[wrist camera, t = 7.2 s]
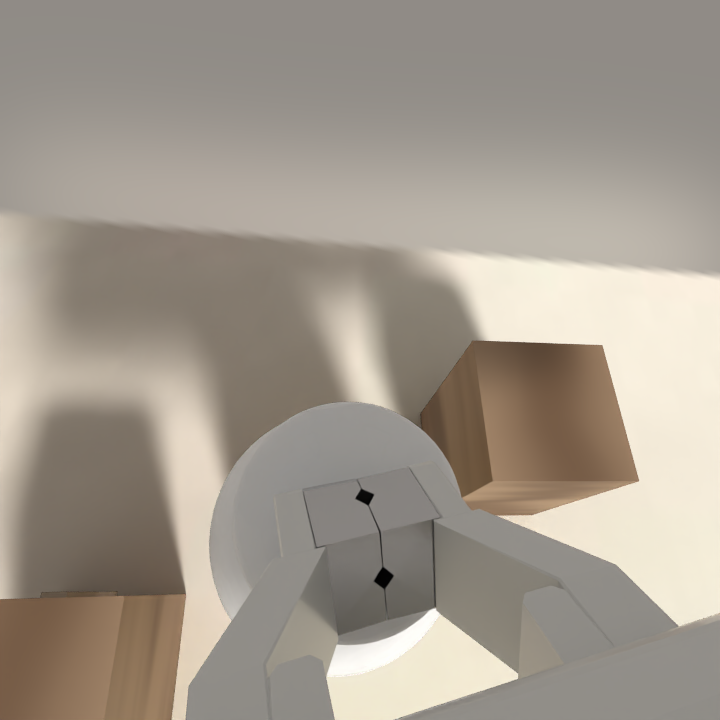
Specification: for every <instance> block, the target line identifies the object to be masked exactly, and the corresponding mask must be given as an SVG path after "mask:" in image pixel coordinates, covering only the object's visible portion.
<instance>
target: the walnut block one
mask: <svg viewBox="0 0 720 720" xmlns="http://www.w3.org/2000/svg"><path fill="white" fill-rule="evenodd" d="M185 599H186V594H171V595H136V596H117V592H42V593H41V597H40V598H30V599H0V720H171V718H172V710H173V701H174V693H175V684H176V676H177V667H178V659H179V650H180V641H181V633H182V624H183V616H184V607H185Z"/></svg>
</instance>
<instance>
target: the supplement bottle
mask: <svg viewBox="0 0 720 720" xmlns="http://www.w3.org/2000/svg"><path fill="white" fill-rule="evenodd" d="M430 460H431V461H433V462H435V463H436V464H437V466H438V467H439V468H440V470H441V471H442V472H443V474H444V475H445V476H446V477H447V479H448V480H449V481H450V483H451V484H452V485H453V487H454V488H455V489H456V491H457V492H458V493H459V495H460V496H461V493H460V490H459V487H458V484H457V481H456V478H455V475H454V472H453V470H452V468H451V466H450V464H449V462H448V461H447V459H446V457H445V456H444V454H443V453H442V451H441V450H440V449H439V447H438V446H437V445H436V443H435V442H434V441H433V440H432V439H431V438H430V437H429V436H428V435H427V434H426V433H425V432H424V431H423V430H422V429H420V428H419V427H418V426H417V425H415V424H414V423H412V422H411V421H410V420H408V419H407V418H405V417H403V416H401V415H399V414H398V413H396V412H394V411H392V410H389V409H386V408H384V407H381V406H377V405H373V404H367V403H359V402H337V403H328V404H324V405H320V406H316V407H313V408H310V409H307V410H305V411H302V412H300V413H298V414H296V415H294V416H292V417H291V418H289V419H288V420H286V421H285V422H283V423H282V424H280V425H278V426H277V427H275V428H273V429H272V430H270V431H269V432H267V433H266V434H264V435H263V436H261V437H260V438H259V439H258V440H257V441H256V442H254V443H253V444H252V445H251V446H250V447H249V448H248V449H247V450H246V451H245V453H244V454H243V455H242V456H241V457H240V458H239V460H238V461H237V462H236V464H235V465H234V467H233V468H232V470H231V472H230V473H229V475H228V477H227V478H226V480H225V482H224V484H223V486H222V488H221V490H220V493H219V496H218V499H217V501H216V505H215V508H214V512H213V516H212V521H211V528H210V540H209V552H210V563H211V569H212V575H213V579H214V583H215V586H216V589H217V592H218V595H219V598H220V600H221V602H222V605H223V607H224V609H225V611H226V612H227V614H228V616H229V618H230V619H231V621H232V620H233V618H234V617H235V615H236V614H237V612H238V611H239V609H240V608H241V606H242V605H243V603H244V602H245V600H246V599H247V597H248V596H249V594H250V593H251V591H252V589H253V588H254V586H255V585H256V583H257V582H258V580H259V579H260V577H261V576H262V574H263V573H264V571H265V570H266V568H267V567H268V565H269V564H270V562H271V561H272V559H275V558H279V557H281V553H280V545H279V538H278V531H277V523H276V516H275V509H274V501H273V497H274V495H275V494H279V493H284V492H289V491H293V490H298V489H301V490H302V489H303V488H308V487H313V486H318V485H324V484H329V483H334V482H339V481H344V480H349V479H354V478H355V479H358V478H362V477H366V476H370V475H375V474H379V473H383V472H388V471H392V470H396V469H401V468H405V467H407V466H411V465H415V464H418V463H422V462H426V461H430ZM439 615H440V613H439V612H437V611H436V608H435V609H431V610H427V611H423V612H419V613H415V614H411V615H407V616H403V617H399V618H395V619H391V620H388V619H387V616H386V621H383V622H380V623H377V624H374V625H371V626H368V627H364V628H361V629H358V630H355V631H352V632H349V633H345V634H342V635H339V636H338V642H337V645H336V648H335V651H334V654H333V657H332V660H331V664H330V667H329V670H328V673H327V677H337V676H350V675H357V674H361V673H366V672H368V671H371V670H374V669H376V668H379V667H382V666H384V665H386V664H388V663H390V662H392V661H394V660H395V659H397V658H398V657H400V656H401V655H403V654H404V653H406V652H407V651H408V650H409V649H410V648H412V647H413V646H414V645H415V644H416V643H417V642H418V641H419V640H420V639H421V638H422V637H423V636H424V635H425V634H426V633H427V632H428V630H429V629H430V628H431V626H432V625H433V624H434V622H435V621H436V620H437V618H438V617H439Z"/></svg>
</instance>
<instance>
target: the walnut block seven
mask: <svg viewBox="0 0 720 720" xmlns="http://www.w3.org/2000/svg"><path fill="white" fill-rule="evenodd" d="M421 424H422V430H423V431H424V432H425V433H426V434H427V435H428V436H429V437H430V438H431V439H432V440H433V441H434V442H435V443H436V445H437V446H438V447H439V449H440V450H441V451H442V453H443V454H444V456H445V457H446V459H447V461H448V462H449V464H450V466H451V468H452V470H453V472H454V475H455V478H456V481H457V484H458V487H459V490H460V493H461V497H462V498H463V500H464V501H465V502H466V504H467V505H468V506H469V508H470V509H471V510H472V511H473V510H477V509H481V510H483V511H486V512H488V513H490V514H493V515H533V514H536V513H540V512H543V511H546V510H549V509H552V508H555V507H559V506H562V505H565V504H568V503H571V502H574V501H578V500H581V499H584V498H587V497H590V496H593V495H597V494H600V493H603V492H606V491H609V490H612V489H616V488H619V487H622V486H625V485H628V484H632V483H635V482H638V481H639V479H638V475H637V471H636V468H635V464H634V460H633V457H632V453H631V449H630V446H629V442H628V438H627V434H626V431H625V427H624V423H623V420H622V416H621V412H620V409H619V405H618V401H617V398H616V394H615V390H614V387H613V383H612V379H611V375H610V372H609V368H608V364H607V361H606V357H605V353H604V350H603V346H602V345H581V344H553V343H526V342H498V341H472V342H471V344H470V345H469V347H468V348H467V349H466V351H465V352H464V354H463V355H462V356H461V358H460V359H459V361H458V362H457V363H456V365H455V366H454V368H453V369H452V370H451V372H450V373H449V375H448V376H447V377H446V379H445V380H444V382H443V383H442V384H441V386H440V387H439V389H438V390H437V391H436V393H435V394H434V396H433V397H432V398H431V400H430V401H429V403H428V404H427V405H426V407H425V408H424V410H423V411H422V412H421Z"/></svg>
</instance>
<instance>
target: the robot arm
mask: <svg viewBox="0 0 720 720" xmlns="http://www.w3.org/2000/svg"><path fill="white" fill-rule="evenodd" d="M273 501H274V509H275V516H276V523H277V531H278V538H279V545H280V553H281V557H279V558H275V559H272V561H271V562H270V564H269V565H268V567H267V568H266V570H265V571H264V573H263V574H262V576H261V577H260V579H259V580H258V582H257V583H256V585H255V586H254V588H253V589H252V591H251V593H250V594H249V596H248V597H247V599H246V600H245V602H244V603H243V605H242V606H241V608H240V609H239V611H238V612H237V614H236V615H235V617H234V618H233V620H232V621H231V623H230V624H229V626H228V627H227V629H226V630H225V632H224V633H223V635H222V637H221V638H220V640H219V641H218V643H217V644H216V646H215V647H214V649H213V650H212V652H211V653H210V655H209V656H208V658H207V659H206V661H205V662H204V664H203V665H202V667H201V668H200V670H199V671H198V673H197V674H196V676H195V677H194V679H193V681H192V682H191V684H190V685H189V689H188V700H187V711H186V720H335V719H334V714H333V709H332V704H331V699H330V695H329V690H328V685H327V680H326V676H327V673H328V670H329V667H330V664H331V660H332V657H333V654H334V651H335V648H336V645H337V642H338V636H339V635H342V634H345V633H349V632H352V631H355V630H358V629H361V628H364V627H368V626H371V625H374V624H377V623H380V622H383V621H386V616H387V619H388V620H391V619H395V618H399V617H403V616H407V615H411V614H415V613H419V612H423V611H427V610H431V609H435V608H436V611H437V612H439V613H440V614H441V615H443V616H444V617H445V618H446V619H448V620H449V621H450V622H452V623H453V624H454V625H456V626H457V627H458V628H460V629H461V630H462V631H463V632H465V633H466V634H467V635H469V636H470V637H471V638H473V639H474V640H475V641H477V642H478V643H479V644H480V645H482V646H483V647H484V648H486V649H487V650H488V651H490V652H491V653H492V654H493V655H495V656H496V657H497V658H499V659H500V660H501V661H503V662H504V663H505V664H507V665H508V666H509V667H510V668H512V669H513V670H514V671H516V672H517V673H518V679H517V680H514V681H511V682H508V683H505V684H502V685H499V686H496V687H493V688H489V689H486V690H483V691H480V692H477V693H474V694H471V695H468V696H465V697H462V698H459V699H456V700H453V701H450V702H447V703H444V704H441V705H437V706H434V707H431V708H428V709H425V710H422V711H419V712H416V713H413V714H410V715H407V716H404V717H401V718H398V719H395V720H720V613H719V614H716V615H713V616H710V617H707V618H703V619H700V620H697V621H694V622H691V623H688V624H685V625H682V626H678V625H677V624H676V623H675V622H674V621H673V620H672V619H671V618H670V617H669V616H668V615H667V614H666V613H665V612H664V611H663V610H662V609H661V608H660V607H659V606H658V605H657V604H655V603H654V602H653V601H652V600H651V599H650V598H649V597H648V596H647V595H646V594H645V593H644V592H643V591H642V590H641V589H640V588H639V587H638V586H637V585H636V584H635V583H634V582H633V581H632V580H631V579H630V578H629V577H628V576H627V575H626V574H625V573H624V572H623V571H622V570H621V569H620V568H619V567H618V566H617V565H615V564H613V563H610V562H608V561H605V560H603V559H600V558H598V557H596V556H593V555H591V554H588V553H586V552H583V551H581V550H578V549H576V548H574V547H571V546H569V545H566V544H564V543H561V542H559V541H556V540H554V539H552V538H549V537H547V536H544V535H542V534H539V533H537V532H534V531H532V530H530V529H527V528H525V527H522V526H520V525H517V524H515V523H512V522H510V521H508V520H505V519H503V518H500V517H498V516H495V515H493V514H490V513H488V512H486V511H483V510H481V509H477V510H473V511H472V510H471V509H470V508H469V506H468V505H467V504H466V502H465V501H464V500H463V498H462V497H461V496H460V495H459V493H458V492H457V491H456V489H455V488H454V487H453V485H452V484H451V483H450V481H449V480H448V479H447V477H446V476H445V475H444V474H443V472H442V471H441V470H440V468H439V467H438V466H437V464H436V463H435V462H433V461H431V460H430V461H426V462H422V463H418V464H415V465H411V466H407V467H405V468H401V469H396V470H392V471H388V472H383V473H379V474H375V475H370V476H366V477H362V478H358V479H355V478H354V479H349V480H344V481H339V482H334V483H329V484H324V485H318V486H313V487H308V488H303V489H302V490H301V489H298V490H293V491H289V492H284V493H279V494H275V495H274V497H273Z"/></svg>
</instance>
